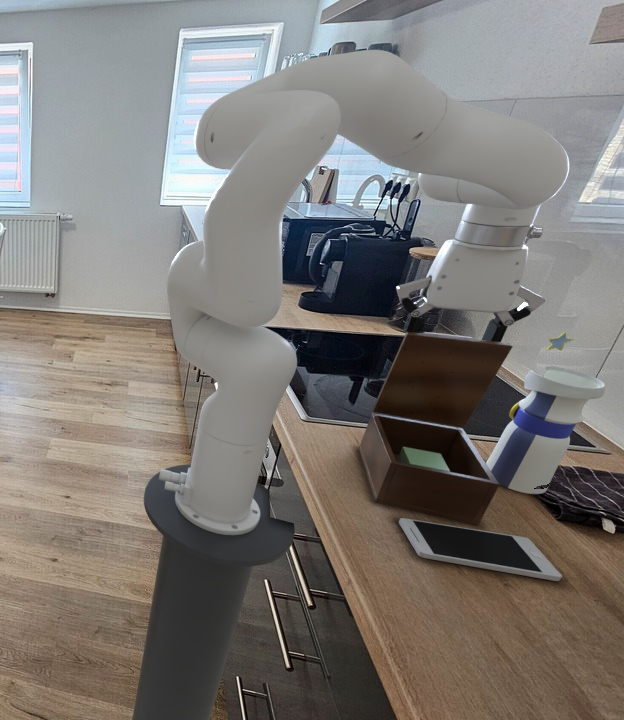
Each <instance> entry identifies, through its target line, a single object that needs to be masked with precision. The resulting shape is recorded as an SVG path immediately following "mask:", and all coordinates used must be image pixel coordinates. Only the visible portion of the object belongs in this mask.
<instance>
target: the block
mask: <svg viewBox="0 0 624 720" xmlns="http://www.w3.org/2000/svg"><path fill="white" fill-rule="evenodd" d="M397 461H398V462H403V463H408V464H413V465H418V466H423V467H428V468H433V469H438V470H443V471H448V472H450V470H449V468H448V466H447V465H446V463H445V461H444V459H443V457H442V455H441V454H439V453H434V452H429V451H424V450H418V449H413V448H408V447H402V450H401V452H400V455H399V457H398V460H397Z"/></svg>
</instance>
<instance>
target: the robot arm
mask: <svg viewBox="0 0 624 720" xmlns="http://www.w3.org/2000/svg"><path fill="white" fill-rule="evenodd" d="M337 136H341V137H342V138H344V139H346V140H347V141H349V142H350V143H352V144H354V145H355V146H357V147H359V148H360V149H362V150H364V151H365V152H366V153H368V154H370V155H371V156H373V157H374V158H376V159H377V160H379V162H381V163H383V164H385V165H387V166H390V167H393V168H397V169H400V170H403V171H404V170H405V171H408V172H412V173H416V174H418V176H417V184H418V187H419V189H420V191H421V192H422V194H423V195H425V196H426V197H428V198H430V199H432V200H436V201H441V202H447V203H454V204H455V203H457V204H463V205H465V207H464V211H463V213H462V216H461V219H460V221H459V224H458V227H457V229H456V232H455V235H454V238H453V239H446V240H445V242H444V243H443V244H442V246H441V247H440V249H439V251H438V252H437V254H436V256H435V258H434V260H433V261H432V264H431V265H430V267H429V270H428V272H427V273H426V276H425V277H423V278H420V279H416V280H412V281H409V282H406V283H402V284H398V285H397V286H396V288H395V290H396V293H397V296H398V298H399V302H400V304H401V305H402V306H403V307H404V309H405V310H406V311H407V312H408V314H407V318H406V320H405V323H404V326H403V333H404V334H406V332H414V333H420V331H421V327H422V324H423V322H424V318H423V315H424V314H426V313H428V312H429V311H430V310H432V309H434V308H436V309H446V310H456V311H466V312H476V313H477V312H478V313H492V314H493V315H494V316H495V317H494V318H491V319H490V320H488V321H489V322H488V324H487V326H486V329H485V331H484V333H483V335H482V337H481V340H485V341H494V342H502V340H503V338H504V336H505V334H506V331H507V330H508V327H511V326H513V325H514V324H515V323H516V322H519V321H520V320H523V319H525V318H528V317H529V316H531V313H532V312H534V311H536V309H538V308H539V307H540V306H542V305H543V304H545V302H546V299H545V298H543V296H541V295H539V294H537V293H536V292H533V291H532V290H530V289H527V288H526V287H524V286H522V285H521V284H522V281H523V278H524V274H525V271H526V266H527V262H528V261H527V260H528V255H529V247H528V246H527V245H526V244H527V243H528V241H529V240H530V239H531V240H532V239H540V238H541V237H542V236H543V233H544V229H543V228H542V227H540V228H538V227H536V226H535V225H534V222H535V220H536V217H537V215H538V213H539V210H540V208H541V206H542V204H545V203H547V202H548V201H549V200H550V199H552V198H553V197H555V195H556V194H558V193H559V191H560V190H561V189H562V188H563V186H564V184H565V183H566V181H567V178H568V176H569V172H570V159H569V156H568V153H567V151H566V150H565V148H564V147H563V145H562V144H561V143H560V142H559V141H558V140H557V139H556V138H554V137H553V136H552V135H551V134H550V133H549V132H547V131H546V130H545V129H543V128H542V127H539V126H538V125H536V124H533V123H530V122H528V121H526V120H522V119H521V118H520V119H519V118H518V117H513V116H511V115H506V114H504V113H500V112H496V111H492V110H490V109H487V108H484V107H481V106H478V105H474V104H470V103H467V102H464V101H459V100H456V99H454V98H452V97H451V96H450V95H448V94H446V93H445V92H444V91H443V90H442V89H440V88H439V87H438V86H436V85H435V84H434V83H433V82H432V81H430V80H429V79H427V78H426V77H425V76H424V75H423V74H422V73H420V72H419V71H417V69H415V68H414V67H412V66H411V65H410V64H409V63H408V62H406V61H405V60H404V59H402V58H401V57H400V56H399V55H396V54H395V53H394V52H390V51H386V50H383V49H363V50H357V51H356V50H355V51H351V52H344V53H336V54H329V55H323V56H316V57H311V58H307V59H304V60H302V61H299V62H296V63H294V64H291V65H289V66H287V67H284V68H282V69H279V70H278V71H275V72H273V73H272V74H269V75H267V76H265V77H262V78H260V79H258V80H256V81H254V82H252V83H249V84H247V85H245V86H243V87H240V88H238V89H236V90H233V91H232V92H230V93H228V94H225V95H223V96H222V97H219V98H218V99H217V100H215V101H214V102H213V103H211V104H210V105H209V106H208V107H207V108H206V109H205V110H204V112H203V113H202V115H201V116H200V118H199V120H198V121H197V124H196V127H195V130H194V137H193V142H194V144H193V145H194V148H195V152H196V154H197V156H198V158H200V159H201V161H202V162H203V163H204V164H206V165H208V166H209V167H212V168H215V169H219V170H226V171H227V170H229V171H228V173H227V174H226V175H225V177H224V178H223V179H222V181H220V184H219V185H218V187H216V190H214V192H213V194H212V196H211V197H210V199H209V201H208V203H207V206H206V208H205V211H204V212H205V213H204V216H203V223H202V224H203V225H202V233H203V235H202V236H203V239H201V240H196V241H194V242H191V243H188V244H187V245H185V246H183V247H182V248H181V249H180V250H179V252H177V254H176V255H175V256H174V258H173V259H172V261H171V264H170V266H169V269H168V273H167V277H166V293H167V301H168V307H169V308H168V309H169V314H170V321H171V327H172V334H173V339H174V343H175V346H176V349H177V351H178V353H179V354H180V356H181V357H182V358H183V359H184V360H185V361H187V363H189V364H191V365H192V366H194V367H195V368H197V369H198V370H199V371H202V372H203V373H205V374H206V375H208V377H210V378H211V379H213V380H214V381H215V382H216V383H217V388H216V390H215V391H214V392H213V393H212V394H211V395H210V396H208V397H207V398H206V399H205V401H204V402H203V404H202V406H201V410H200V413H199V418H198V425H197V430H196V436H195V440H194V441H195V443H194V446H193V452H192V457H191V462H190V464H191V468H188V472H187V473H183V472H181V474H178V473H174V472H172V471H168V470H164V469H165V468H164V469H163V468H160V470H159V472H160V475H159V480H161V481H165V482H166V483H165V488H164V489H166V490H170V491H175V492H176V494H175V503H176V506H177V508H178V510H179V511H180V512H181V514H182V515H183V516H184V517H185V518H186V519H187V520H189V521H190V522H192V523H193V524H195V525H196V526H198V527H200V528H202V529H205V530H207V531H210V532H213V533H217V534H222V535H241V534H245V533H248V532H250V531H252V530H253V529H254V528H255V527H256V526H257V525H258V522H259V519H260V509H259V506H258V504H257V503H256V501H255V500H254V499H253V496H254V492H255V488H256V484H257V483H258V480H259V477H260V472H261V469H262V465H263V462H264V457H265V454H266V450H267V445H268V441H269V439H270V434H271V430H272V427H273V424H274V419H275V416H276V413H277V410H278V407H279V405H280V403H281V401H282V399H283V396H284V395H285V393H286V391H287V389H288V387H289V386H290V383H291V382H292V380H293V378H294V376H295V374H296V370H297V367H298V358H297V357H298V356H297V354H296V351H295V349H294V347H293V346H292V344H290V342H289V341H287V339H286V338H284V337H283V336H281V335H280V334H279V333H278V332H275V331H273V330H271V329H269V328H267V327H265V325H266V324H268V323H269V322H271V320H273V319H274V318H275V317H276V315H277V314H278V312H279V310H280V308H281V304H282V298H283V288H284V287H283V286H284V283H283V282H284V281H283V221H284V216H285V212H286V209H287V207H288V204H289V202H290V201H291V199H292V197H293V196H294V194H295V193H296V191H297V190H298V188H299V187H300V186H301V184H302V183H303V182H304V181H305V179H306V178H307V177H308V176H309V175H310V174H311V172H312V171H313V170H314V169H315V168H316V167H317V166H318V165H319V164H320V163H321V161H322V160H323V159H324V158H325V157H326V156H327V154H328V153H329V151H330V150H331V148H332V146H333V145H334V143H335V141H336V139H337ZM419 290H420V292H419V296H420V298H419V299H418V300H417V301H415V302H413V301H412V300H411V296H410V294H411V293H412V292H415V291H419ZM517 297H519V298H521V299H524V302H523V303H522V304H521V305H519V306H516V307H514V308H512V306H513V305H514V302H515V300H516V298H517ZM511 308H512V309H511ZM174 483H176V484H174ZM178 484H179V485H178Z"/></svg>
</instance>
